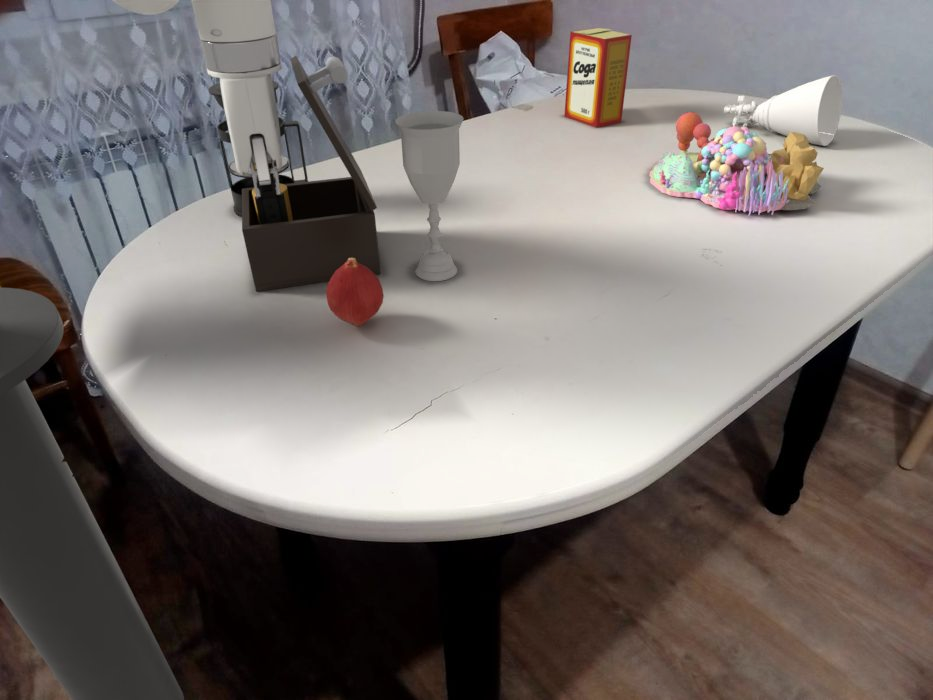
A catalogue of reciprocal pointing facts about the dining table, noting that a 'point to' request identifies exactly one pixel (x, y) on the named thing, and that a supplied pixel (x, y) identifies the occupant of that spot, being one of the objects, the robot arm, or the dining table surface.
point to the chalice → (431, 176)
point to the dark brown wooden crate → (310, 235)
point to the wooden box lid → (309, 91)
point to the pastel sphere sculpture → (738, 169)
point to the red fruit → (354, 293)
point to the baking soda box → (597, 76)
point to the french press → (247, 176)
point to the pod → (287, 201)
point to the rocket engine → (797, 111)
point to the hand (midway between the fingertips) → (274, 218)
